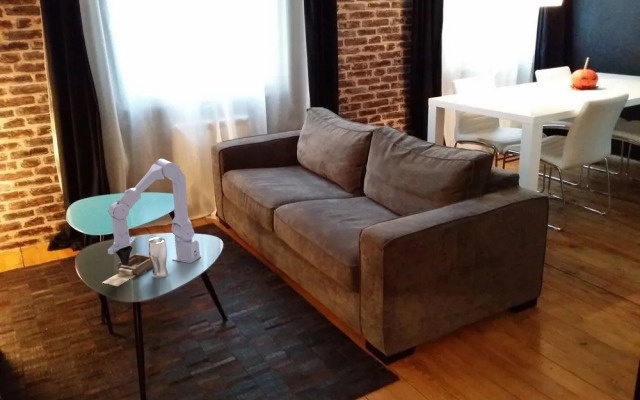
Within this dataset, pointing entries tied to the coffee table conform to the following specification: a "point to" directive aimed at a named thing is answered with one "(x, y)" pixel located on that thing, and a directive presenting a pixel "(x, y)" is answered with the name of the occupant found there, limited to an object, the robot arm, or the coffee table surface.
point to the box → (137, 264)
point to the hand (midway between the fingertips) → (125, 264)
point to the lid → (120, 277)
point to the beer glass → (158, 256)
